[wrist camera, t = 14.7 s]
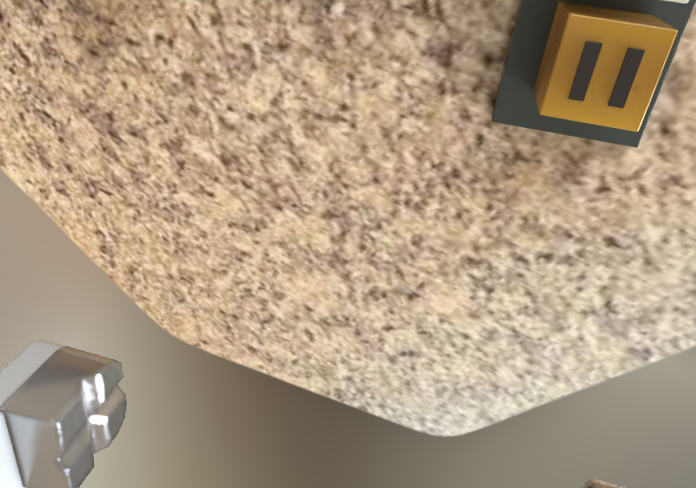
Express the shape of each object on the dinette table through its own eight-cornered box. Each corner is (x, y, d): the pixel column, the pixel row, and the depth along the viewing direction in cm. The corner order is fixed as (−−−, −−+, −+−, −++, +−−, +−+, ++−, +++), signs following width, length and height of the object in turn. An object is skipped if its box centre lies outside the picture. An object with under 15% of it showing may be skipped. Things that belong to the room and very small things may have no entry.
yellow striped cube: (620, 105, 31) (639, 133, 27) (532, 90, 31) (539, 115, 27) (653, 14, 28) (679, 30, 24) (558, 0, 29) (569, 13, 25)
